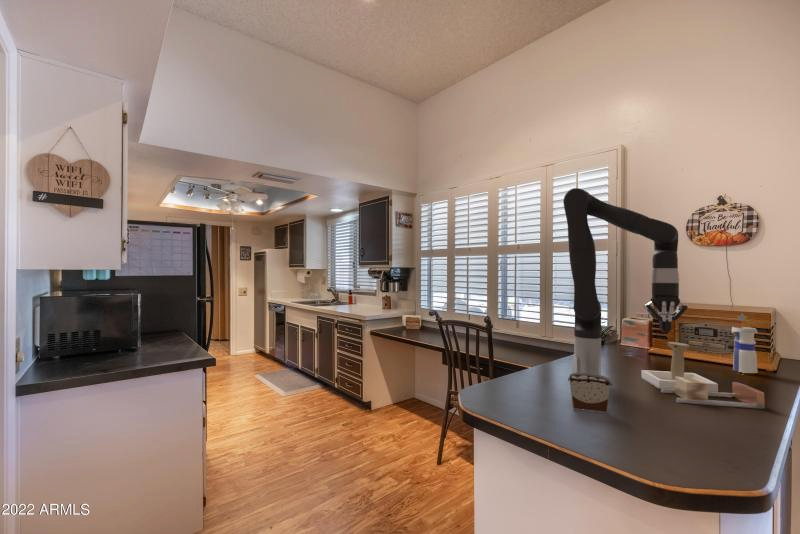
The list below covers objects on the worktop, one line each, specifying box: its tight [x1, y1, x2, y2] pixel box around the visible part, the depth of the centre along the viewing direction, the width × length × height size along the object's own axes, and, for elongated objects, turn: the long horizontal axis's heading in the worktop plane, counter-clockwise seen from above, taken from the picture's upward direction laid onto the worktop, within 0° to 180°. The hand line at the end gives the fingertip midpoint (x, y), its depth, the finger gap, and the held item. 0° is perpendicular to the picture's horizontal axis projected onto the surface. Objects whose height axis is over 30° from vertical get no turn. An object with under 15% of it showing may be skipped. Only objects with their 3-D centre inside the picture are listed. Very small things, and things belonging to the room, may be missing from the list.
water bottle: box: [731, 313, 759, 373], centre depth 154 cm, size 8×9×25 cm
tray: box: [641, 369, 719, 392], centre depth 135 cm, size 18×14×3 cm
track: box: [660, 381, 766, 410], centre depth 119 cm, size 24×11×5 cm, turn 78°
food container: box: [567, 372, 614, 413], centre depth 112 cm, size 12×6×10 cm, turn 71°
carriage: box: [675, 376, 709, 400], centre depth 121 cm, size 6×7×6 cm
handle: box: [667, 341, 690, 380], centre depth 135 cm, size 5×6×15 cm
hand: (665, 332), depth 123 cm, fingers closed
